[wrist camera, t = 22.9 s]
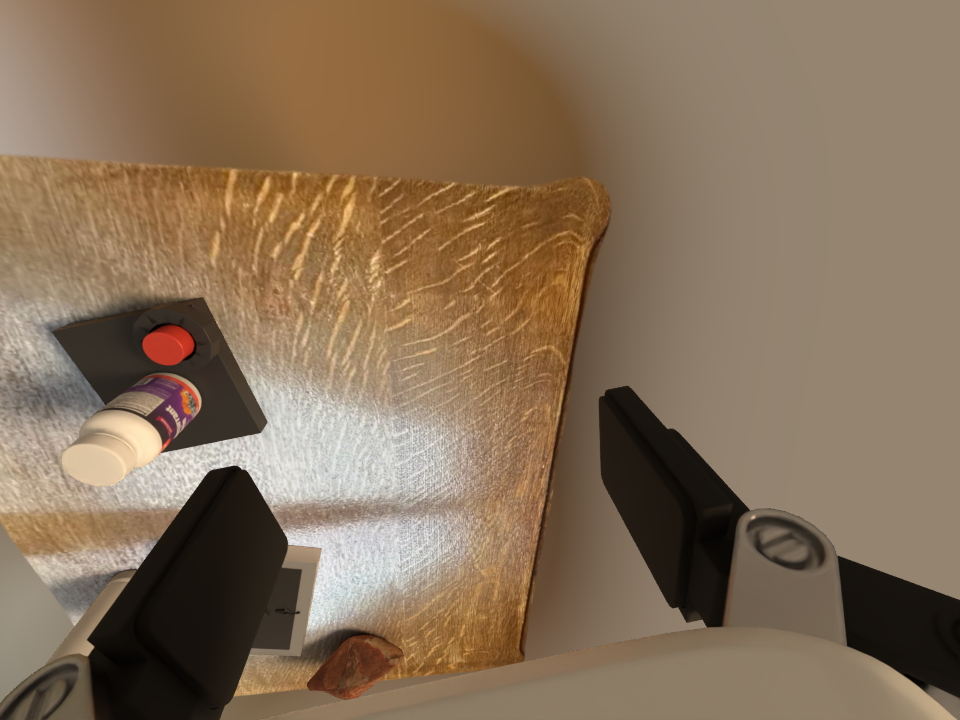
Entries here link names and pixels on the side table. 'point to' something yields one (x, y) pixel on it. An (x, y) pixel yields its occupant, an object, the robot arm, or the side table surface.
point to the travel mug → (92, 618)
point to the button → (168, 344)
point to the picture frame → (289, 605)
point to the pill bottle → (131, 429)
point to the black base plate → (168, 367)
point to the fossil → (356, 666)
